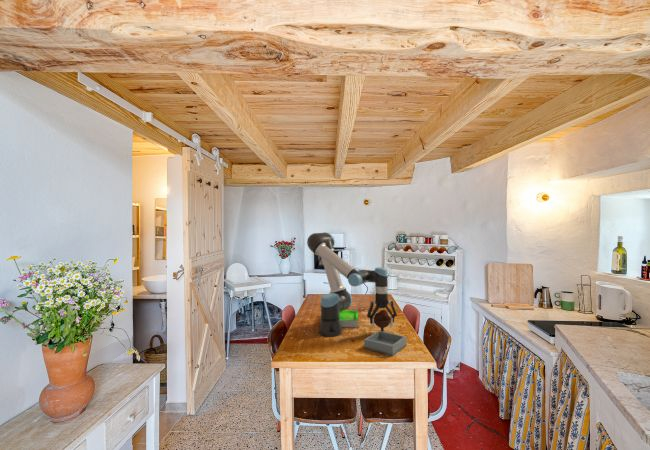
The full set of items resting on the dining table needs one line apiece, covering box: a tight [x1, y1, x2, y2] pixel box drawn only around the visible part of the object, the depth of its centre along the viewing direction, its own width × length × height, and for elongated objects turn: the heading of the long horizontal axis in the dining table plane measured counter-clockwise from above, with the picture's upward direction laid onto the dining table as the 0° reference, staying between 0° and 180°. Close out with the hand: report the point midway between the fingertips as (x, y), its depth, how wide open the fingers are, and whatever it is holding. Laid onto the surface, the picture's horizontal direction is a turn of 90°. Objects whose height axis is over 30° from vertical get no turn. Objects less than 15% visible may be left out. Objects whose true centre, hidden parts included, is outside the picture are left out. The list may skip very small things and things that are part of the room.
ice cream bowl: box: [373, 309, 391, 332], centre depth 192 cm, size 11×11×15 cm
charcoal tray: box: [363, 330, 407, 357], centre depth 172 cm, size 17×17×5 cm
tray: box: [339, 309, 359, 328], centre depth 219 cm, size 25×25×5 cm
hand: (382, 328), depth 192 cm, fingers closed on ice cream bowl, 11 cm apart
